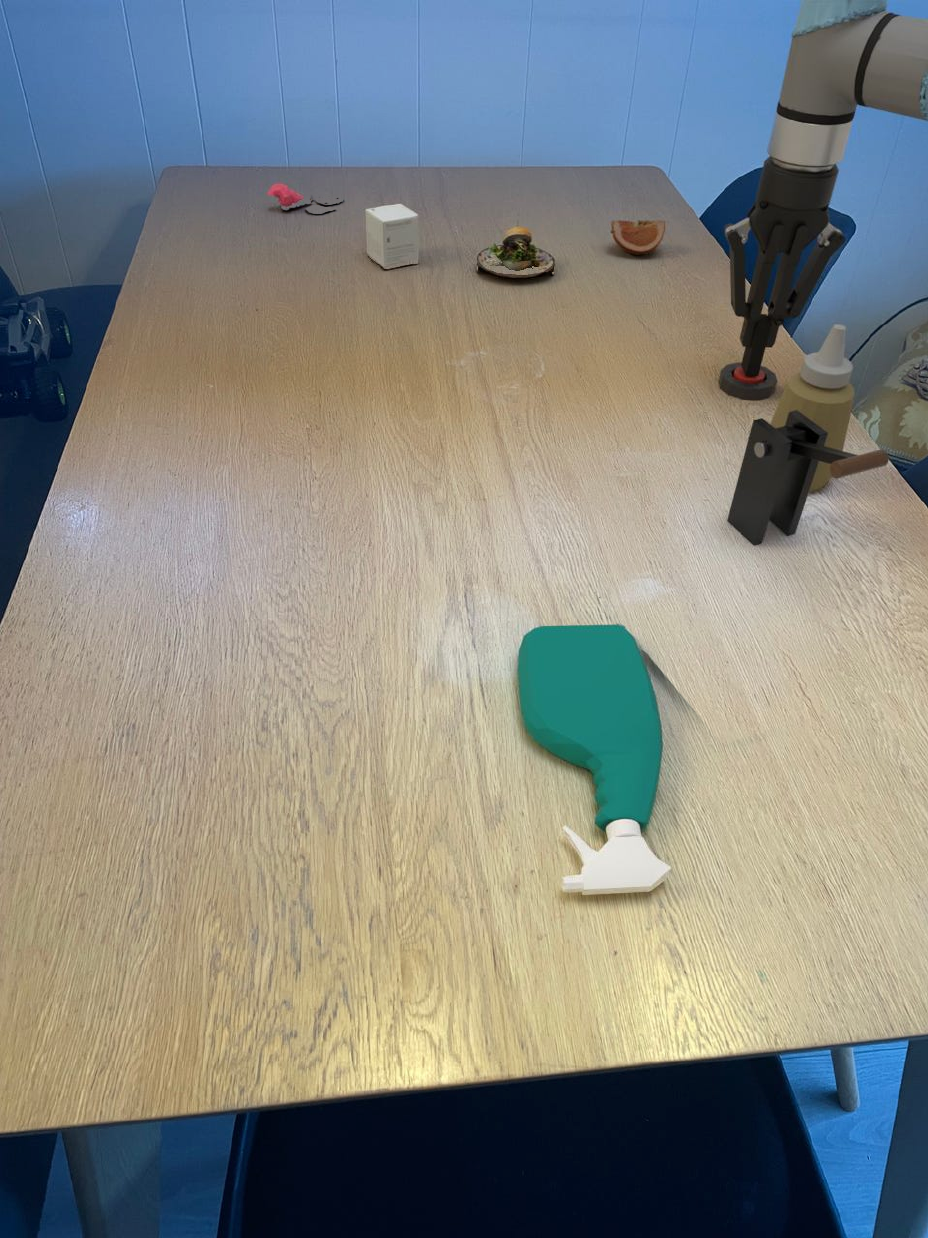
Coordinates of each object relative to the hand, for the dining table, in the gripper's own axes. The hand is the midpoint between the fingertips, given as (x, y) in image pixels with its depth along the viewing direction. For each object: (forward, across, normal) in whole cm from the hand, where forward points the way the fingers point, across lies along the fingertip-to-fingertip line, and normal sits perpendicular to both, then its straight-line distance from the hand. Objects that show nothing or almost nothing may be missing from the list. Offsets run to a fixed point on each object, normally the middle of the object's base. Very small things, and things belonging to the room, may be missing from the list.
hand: (749, 370), depth 112 cm
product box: (+4, +46, -39) cm, 60 cm away
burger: (+4, +27, -37) cm, 46 cm away
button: (+2, 0, 0) cm, 2 cm away
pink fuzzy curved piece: (+4, +62, -62) cm, 88 cm away
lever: (-8, +3, +32) cm, 33 cm away
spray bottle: (+4, +23, +57) cm, 62 cm away
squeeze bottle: (+4, -1, +19) cm, 19 cm away
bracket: (+4, +4, +29) cm, 29 cm away
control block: (+4, -1, +2) cm, 4 cm away
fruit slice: (+4, +8, -46) cm, 47 cm away
